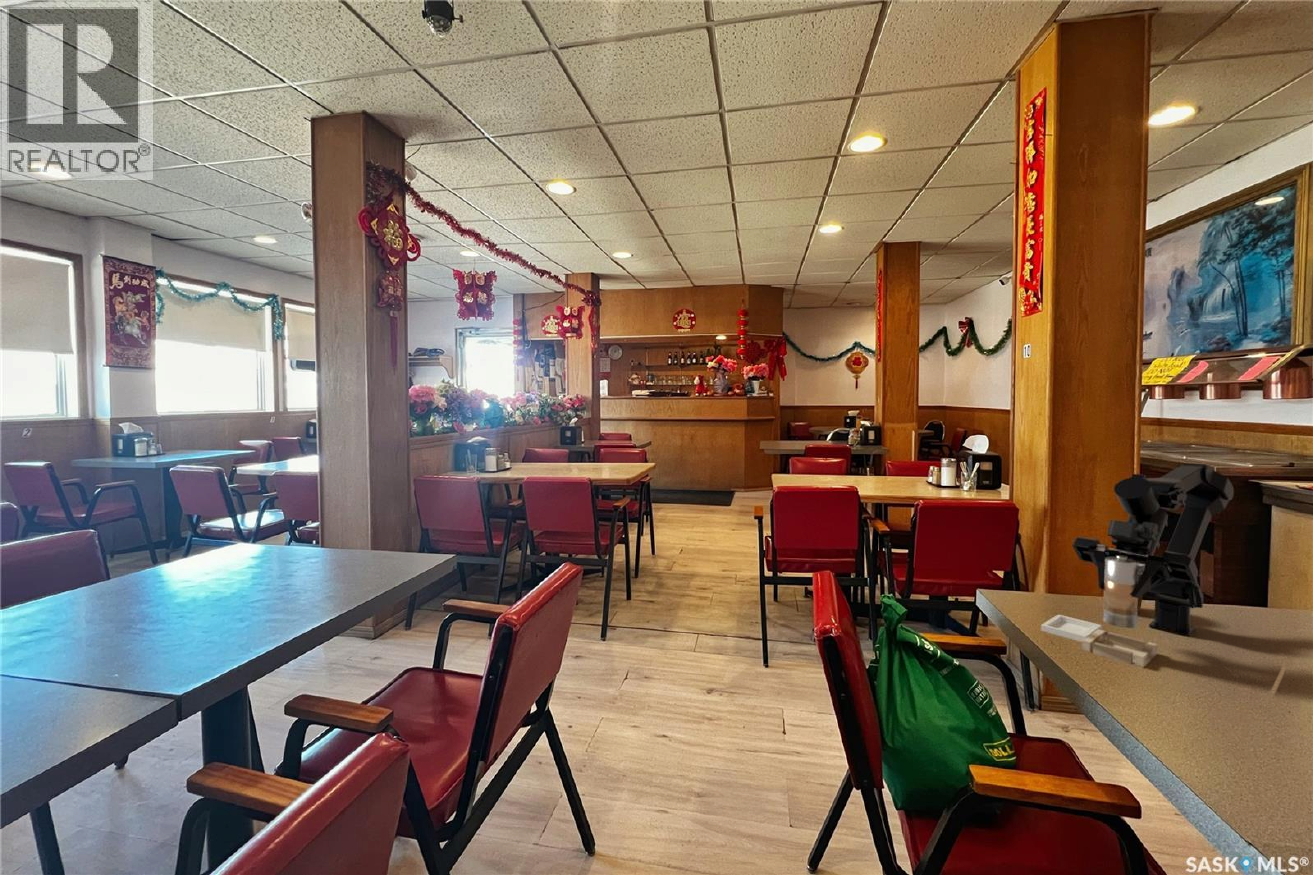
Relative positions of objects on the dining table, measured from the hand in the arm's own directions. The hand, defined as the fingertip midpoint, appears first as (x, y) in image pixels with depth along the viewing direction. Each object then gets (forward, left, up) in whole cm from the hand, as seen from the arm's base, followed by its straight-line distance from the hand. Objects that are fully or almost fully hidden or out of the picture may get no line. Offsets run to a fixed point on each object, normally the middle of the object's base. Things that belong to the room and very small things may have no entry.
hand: (1117, 592), depth 108 cm
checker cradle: (-1, 0, -13) cm, 13 cm away
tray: (-6, -9, -13) cm, 17 cm away
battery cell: (-1, 0, -6) cm, 7 cm away
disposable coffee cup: (-32, -7, -13) cm, 36 cm away
